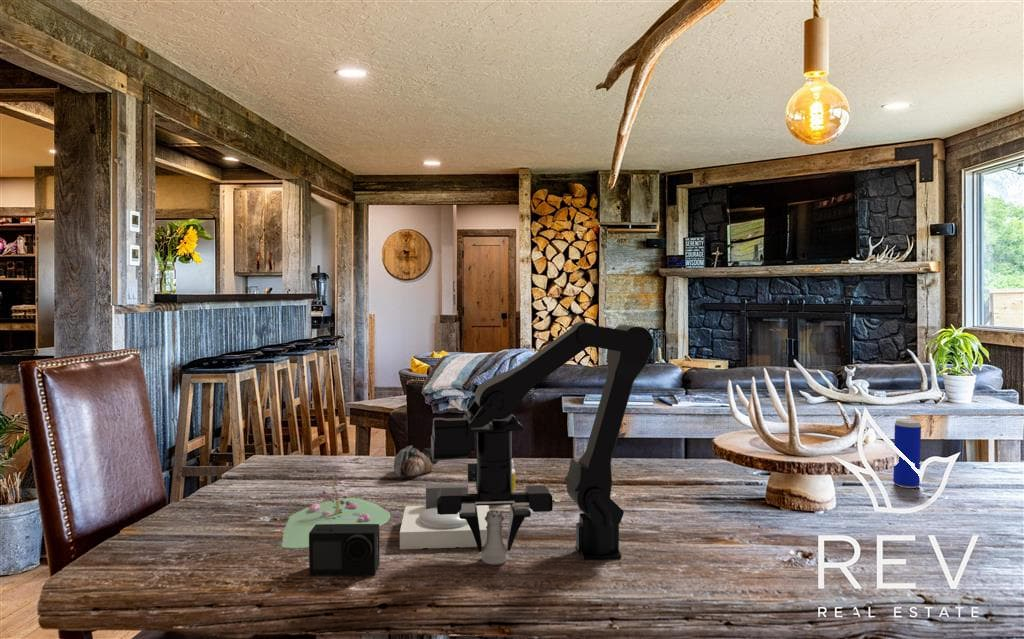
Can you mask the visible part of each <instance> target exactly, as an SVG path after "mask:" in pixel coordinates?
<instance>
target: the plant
mask: <svg viewBox="0 0 1024 639" xmlns="http://www.w3.org/2000/svg"><path fill="white" fill-rule="evenodd" d="M333 476H334V477H335V478H333V482H332V484H331V485H330V487H331V489H332V490H334V491H333V492H331V493H330V494H328V493H327V492H326V491H325V490H323V491H322V493H319V494H318V497H321V498H322V497H326V498H329V497H330V499H329V500H328V501H325V502H322V503H313V504H310V506H308V507H306V508H303V509H301V510H299V511H297V512H295V513H293V514H291V515H290V516H289V518H288V520H287V522H286V525H285V527H284V529H283V535H282V540H281V548H284V549H285V548H286V549H304V548H309V532H310V531H311V530H312V529H313V527H314V526H315V525H316V524H379V527H381V526H383V525H384V524H386V523H387V522H389V520H391V513H390V511H387V510H386V509H385V508H383V507H381V506H380V505H379V504H376V503H373V502H371V501H368V500H366V499H362V498H357V497H348V495H344V496H342V497H339V495H340V493H341V492H343V491H344V489H343V488H341V489H340V490H339V489H337V487H335V486H337V485H342V482H341V480H340V479H338V478H336V477H337V476H338V475H337V474H333ZM336 481H338V482H336ZM339 492H340V493H339ZM334 494H335V495H334ZM282 541H283V542H282Z"/></svg>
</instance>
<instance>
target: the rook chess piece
mask: <svg viewBox="0 0 1024 639" xmlns="http://www.w3.org/2000/svg"><path fill="white" fill-rule="evenodd" d="M504 519H505V517H504V516H503V511H500V510H497V509H496V511H495V510H493V509H492V510H491V511H490V510H489V511H488V512H487V516H486V517H485V520H486V522H487V526H486V529H487V539H486V544H485V545H484V547H482V552H480V553H481V554H482V555H481V557H480V560H482V562H483V563H484V564H486V565H491V566H492V565H493V566H497V565H498V566H499V565H502V564H504V563H506V561H507V560H508V558H509V557H508V555H507V554H508V550H507V547H506V545H505V543H504V539H503V531H502V529H503V528H504V527H503V525H502V523H503V521H504Z"/></svg>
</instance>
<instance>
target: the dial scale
mask: <svg viewBox="0 0 1024 639" xmlns="http://www.w3.org/2000/svg"><path fill="white" fill-rule="evenodd" d="M441 488H461V494H469V485H468V483H467V484H466V483H465V484H464V483H463V484H431V485H430V484H426V486H425V505H407V506H405V507H404V511H403V516H402V522H401V526H400V530H399V550H421V549H423V548H428V549H448V548H449V549H451V548H452V549H453V548H456V547H459V548H478V547H477V544H476V541H475V538H474V535H473V533H472V530H471V528H470V527H469V525H468V523H467V521H466V519H460V518H459V512H458V513H457V514H445V515H440V514H437V496H438V491H439V490H440V489H441ZM488 511H490V505H479V506H477V513H478V521H479V528H480V535H481V543H482V548H484V545H485V544H486V539H487V529H486V526H487V522H486V520H485V517H486V516H487V512H488Z"/></svg>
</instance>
